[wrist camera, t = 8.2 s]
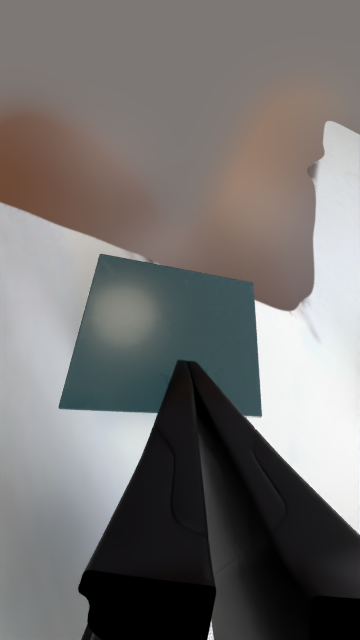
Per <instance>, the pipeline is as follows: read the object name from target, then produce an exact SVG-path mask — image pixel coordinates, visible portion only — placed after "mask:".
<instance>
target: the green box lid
mask: <svg viewBox="0 0 360 640" xmlns="http://www.w3.org/2000/svg"><path fill="white" fill-rule="evenodd" d="M177 360H186V361H188V360H189V361H196V362H197V363H198V364H199V365H200V366H201V368H202V369H203V370H204V371H205V372H206V373H207V374H208V375H209V377H210V378H211V379H212V380H213V381H214V382H215V383H216V384H217V386H218V387H219V388H220V389H221V390H222V391H223V392H224V394H225V395H226V396H227V397H228V398H229V399H230V400H231V401H232V403H233V404H234V405H235V406H236V407H237V408H238V409H239V410H240V412H241V413H242V414H243V415H244V416H245V417H258V418H261V417H262V410H261V394H260V379H259V363H258V347H257V331H256V316H255V300H254V284H253V283H252V282H247V281H242V280H237V279H231V278H226V277H220V276H215V275H210V274H204V273H199V272H194V271H189V270H184V269H178V268H173V267H168V266H163V265H157V264H152V263H147V262H141V261H136V260H131V259H126V258H120V257H115V256H110V255H105V254H100V255H99V259H98V263H97V266H96V270H95V274H94V278H93V281H92V285H91V289H90V292H89V296H88V300H87V303H86V307H85V311H84V315H83V318H82V322H81V326H80V329H79V333H78V337H77V340H76V344H75V348H74V352H73V355H72V359H71V363H70V366H69V370H68V374H67V377H66V381H65V385H64V389H63V392H62V396H61V400H60V403H59V409H70V410H94V411H117V412H141V413H158V412H159V409H160V406H161V403H162V401H163V398H164V395H165V392H166V390H167V387H168V384H169V381H170V379H171V376H172V373H173V370H174V368H175V365H176V362H177Z"/></svg>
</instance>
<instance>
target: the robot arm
mask: <svg viewBox="0 0 360 640" xmlns="http://www.w3.org/2000/svg"><path fill="white" fill-rule="evenodd" d="M78 591H79V593H80V594H82V595H83V596H85V597H86V598H87V600H88V602H89V605H90V606H89V612H88V620H87V622H88V624H87V626H86V629H85V631H84V634H83V636H82V639H81V640H207V638H208V633H209V628H210V623H211V621H212V628H213V636H214V640H360V535H359V534H358V533H357V532H356V531H355V530H354V529H353V528H352V527H351V526H350V525H349V524H348V523H347V522H346V521H345V520H344V519H343V518H342V517H341V516H340V515H339V514H338V513H337V512H336V511H335V510H334V509H333V508H332V507H331V506H330V505H329V504H328V503H327V502H326V501H325V500H324V499H323V498H322V497H321V496H320V495H319V494H318V493H317V492H316V491H315V490H314V489H313V488H312V487H311V486H310V485H309V484H308V483H307V482H306V481H305V480H303V479H302V478H301V477H300V476H299V475H298V473H297V472H296V471H295V470H294V469H293V468H292V467H291V466H290V465H289V464H288V463H287V462H286V461H285V460H284V459H283V458H282V457H281V456H280V455H279V454H278V453H277V452H276V451H275V450H274V448H273V447H272V446H271V445H270V444H269V443H268V442H267V441H266V440H265V439H264V438H263V436H262V435H261V434H260V433H259V432H258V431H257V430H256V429H255V428H254V426H253V425H252V424H251V423H250V422H249V421H248V420H247V418H246V417H245V416H244V415H243V414H242V413H241V412H240V410H239V409H238V408H237V407H236V406H235V405H234V404H233V403H232V401H231V400H230V399H229V398H228V397H227V396H226V395H225V394H224V392H223V391H222V390H221V389H220V388H219V387H218V386H217V384H216V383H215V382H214V381H213V380H212V379H211V378H210V377H209V375H208V374H207V373H206V372H205V371H204V370H203V369H202V368H201V366H200V365H199V364H198V363H197V362H196V361H189V360H188V361H186V360H177V362H176V365H175V368H174V370H173V373H172V376H171V379H170V381H169V384H168V387H167V390H166V392H165V395H164V398H163V401H162V403H161V406H160V409H159V412H158V414H157V417H156V420H155V423H154V426H153V428H152V431H151V433H150V436H149V439H148V441H147V444H146V446H145V449H144V451H143V454H142V456H141V459H140V461H139V463H138V465H137V467H136V469H135V471H134V473H133V476H132V478H131V480H130V482H129V484H128V486H127V488H126V490H125V492H124V494H123V496H122V498H121V500H120V502H119V504H118V506H117V508H116V510H115V512H114V514H113V516H112V518H111V520H110V522H109V524H108V526H107V528H106V530H105V532H104V534H103V536H102V538H101V540H100V542H99V543H98V545H97V547H96V549H95V551H94V553H93V555H92V557H91V559H90V561H89V563H88V565H87V567H86V569H85V571H84V573H83V575H82V578H81V581H80V584H79V587H78Z"/></svg>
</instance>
